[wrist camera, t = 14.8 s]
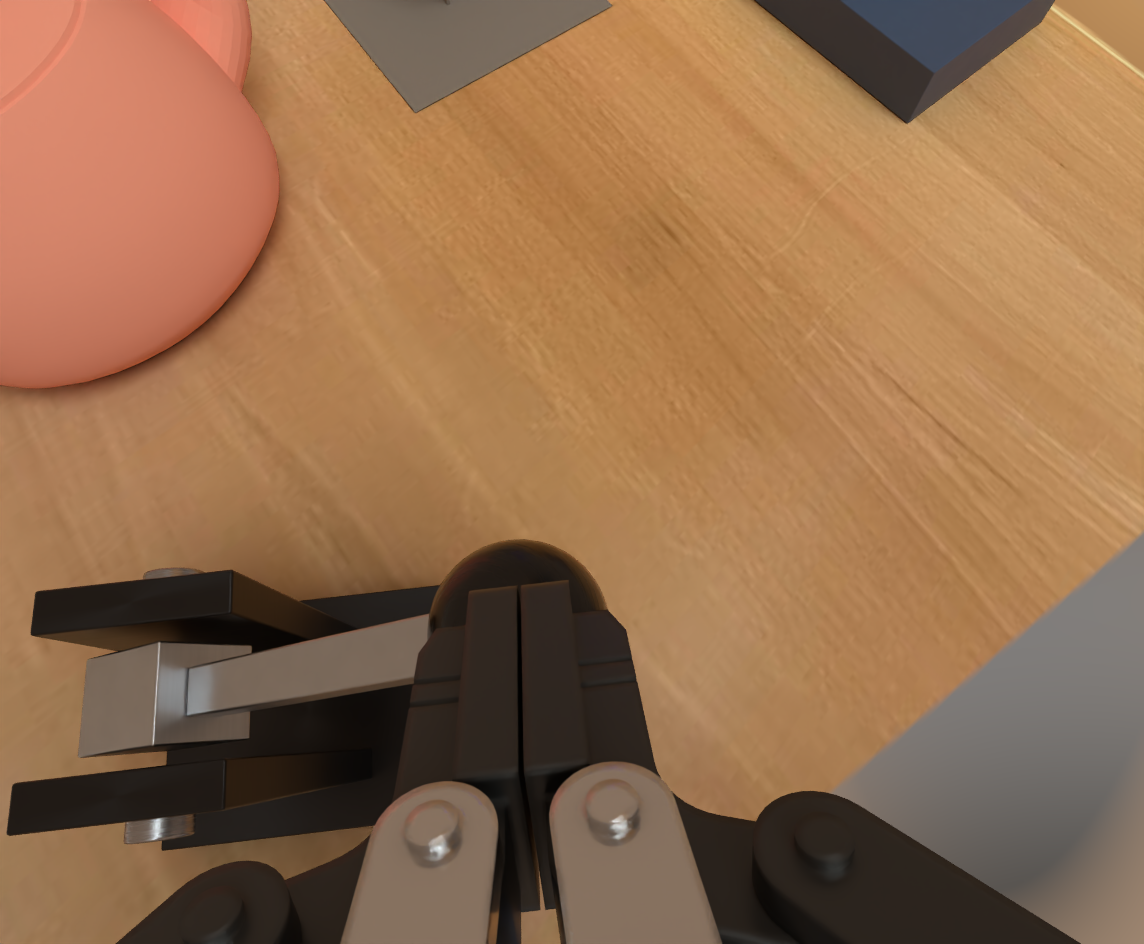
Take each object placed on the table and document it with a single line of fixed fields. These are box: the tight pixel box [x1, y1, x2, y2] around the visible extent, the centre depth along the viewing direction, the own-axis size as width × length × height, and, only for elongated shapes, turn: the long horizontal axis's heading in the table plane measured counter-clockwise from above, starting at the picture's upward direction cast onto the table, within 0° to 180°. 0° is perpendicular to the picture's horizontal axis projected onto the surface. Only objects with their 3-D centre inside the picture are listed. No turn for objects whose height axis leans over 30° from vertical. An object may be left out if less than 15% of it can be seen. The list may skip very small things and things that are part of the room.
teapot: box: [0, 0, 279, 388], centre depth 29 cm, size 25×17×13 cm
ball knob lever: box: [7, 568, 440, 851], centre depth 22 cm, size 10×8×13 cm
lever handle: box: [78, 539, 608, 758], centre depth 16 cm, size 13×3×3 cm, turn 96°
